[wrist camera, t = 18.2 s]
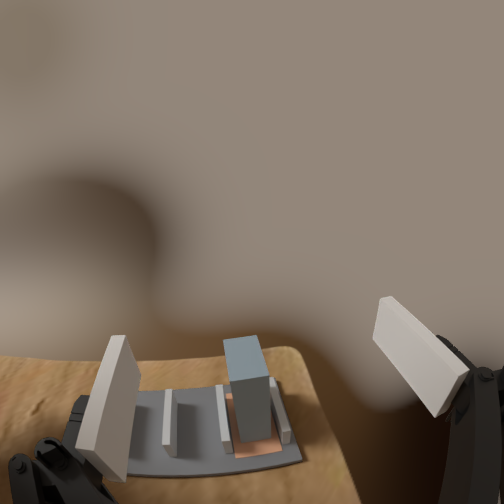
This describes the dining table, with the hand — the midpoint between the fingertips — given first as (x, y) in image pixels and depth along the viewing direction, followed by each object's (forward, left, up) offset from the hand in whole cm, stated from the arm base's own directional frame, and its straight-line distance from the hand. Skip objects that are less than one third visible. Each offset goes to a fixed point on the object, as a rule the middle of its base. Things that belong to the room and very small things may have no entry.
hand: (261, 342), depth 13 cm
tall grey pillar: (0, +13, -25) cm, 28 cm away
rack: (-7, +13, -26) cm, 30 cm away
